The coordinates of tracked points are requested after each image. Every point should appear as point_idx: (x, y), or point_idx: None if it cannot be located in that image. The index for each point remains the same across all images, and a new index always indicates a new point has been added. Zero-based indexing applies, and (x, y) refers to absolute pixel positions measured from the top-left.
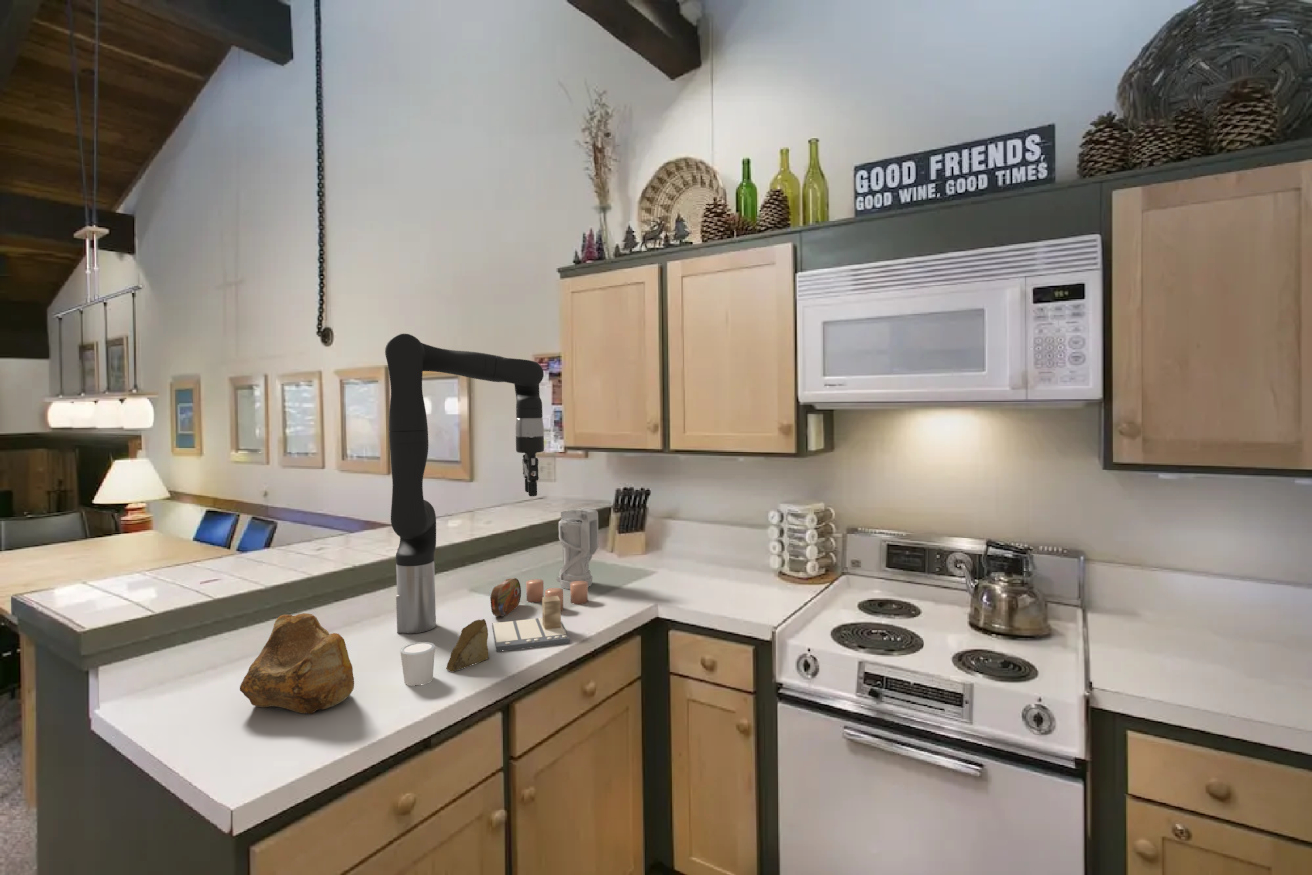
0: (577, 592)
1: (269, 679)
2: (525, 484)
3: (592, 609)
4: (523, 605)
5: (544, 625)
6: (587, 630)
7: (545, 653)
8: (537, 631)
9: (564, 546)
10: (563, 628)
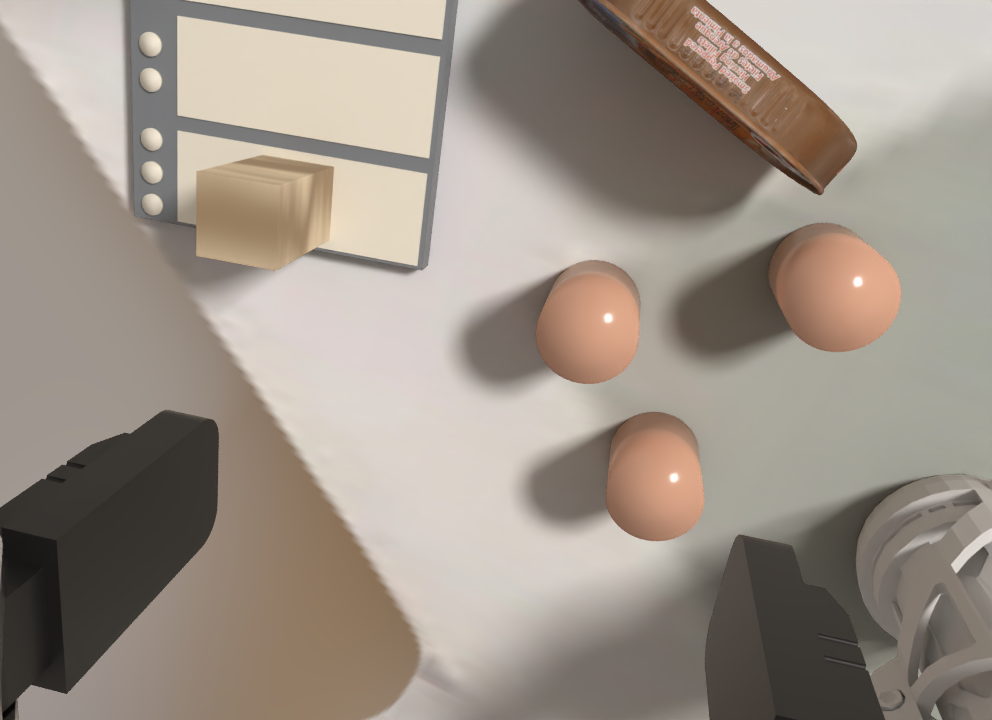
0: (614, 456)
1: None
2: (759, 625)
3: (507, 454)
4: (754, 182)
5: (268, 158)
6: (258, 330)
7: (69, 88)
8: (249, 114)
9: None
10: None
